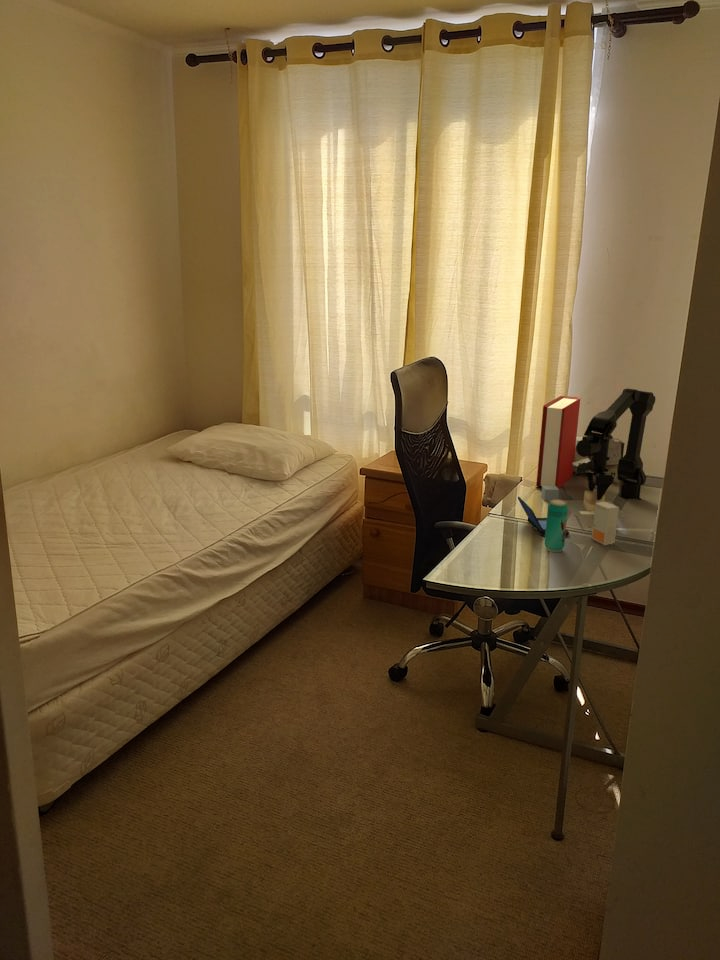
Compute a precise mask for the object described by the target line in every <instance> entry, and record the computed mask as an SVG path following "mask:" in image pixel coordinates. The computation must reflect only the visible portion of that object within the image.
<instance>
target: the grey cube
mask: <svg viewBox="0 0 720 960" xmlns="http://www.w3.org/2000/svg"><path fill="white" fill-rule="evenodd" d="M559 494H560V488H559V489H558V488H557V487H556V486H542V487H541V495H540V496H541V497H540V498H541V499H542V500H543V501H544V502H549V501H550V500H554V499H558V500H559V498H560V497H559Z"/></svg>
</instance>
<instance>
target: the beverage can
mask: <svg viewBox="0 0 720 960" xmlns="http://www.w3.org/2000/svg"><path fill="white" fill-rule="evenodd" d="M564 500H565V499H559V498H558V499H554V500H550V501H548V502H549V503H548V505H547V514H546V518H547V522H546V533H545V536H544V546H545V549H546V551H548V552H551V553H561V552H562V550H563V549H564V547H565V544H566V543H565V541H566V536H565V534H566V530H567V521H568V512H569V509H568V506H567V502H566V501H564Z"/></svg>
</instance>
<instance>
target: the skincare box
mask: <svg viewBox="0 0 720 960" xmlns="http://www.w3.org/2000/svg"><path fill="white" fill-rule="evenodd" d="M613 504H614V503H613ZM613 504H610V503H607V502H599V503H596V504H595V513H594V516H593V522H592V523H593V524H592V532H591V540H593V541H595V542H597V543H599V544H601V545H603V546H608V545H609V544H610V545H614V544H615V541H616V534H617V526H618V518H619V517H618V510H619V509H620V507H619V506H615V505H616V504H615V505H613ZM613 543H614V544H613Z"/></svg>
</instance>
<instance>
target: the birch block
mask: <svg viewBox="0 0 720 960" xmlns="http://www.w3.org/2000/svg"><path fill="white" fill-rule="evenodd" d="M605 499H606V495H605V494H604V495H603V497H602V498H601V500H597V494H596V490H594V491H589V490H584V495H583V501H584V503H583V506H584V507H585V508H586V509H587V510H589V511H595V504H596V503H599V502H605V501H606V500H605Z"/></svg>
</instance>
